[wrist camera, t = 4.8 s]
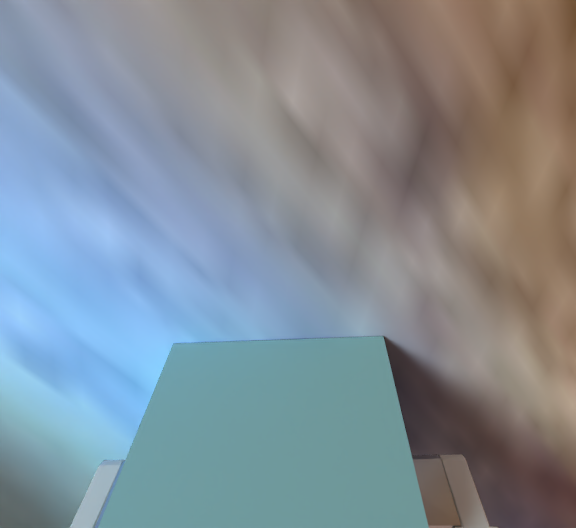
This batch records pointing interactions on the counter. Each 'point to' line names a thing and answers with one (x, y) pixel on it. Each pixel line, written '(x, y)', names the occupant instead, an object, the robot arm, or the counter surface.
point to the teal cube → (271, 440)
